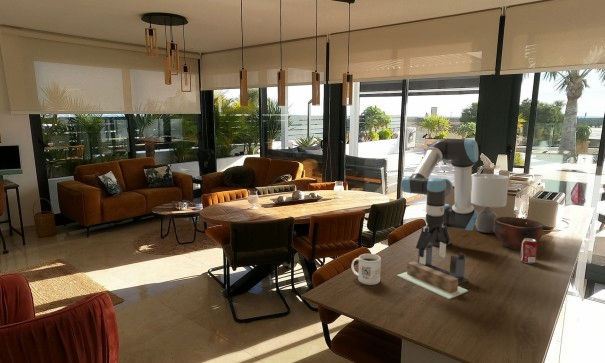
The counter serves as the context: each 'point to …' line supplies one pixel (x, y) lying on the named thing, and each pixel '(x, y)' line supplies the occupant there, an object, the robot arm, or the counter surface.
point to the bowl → (516, 230)
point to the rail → (433, 277)
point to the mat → (431, 287)
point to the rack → (455, 264)
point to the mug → (368, 268)
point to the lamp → (488, 198)
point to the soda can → (528, 250)
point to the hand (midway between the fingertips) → (432, 260)
